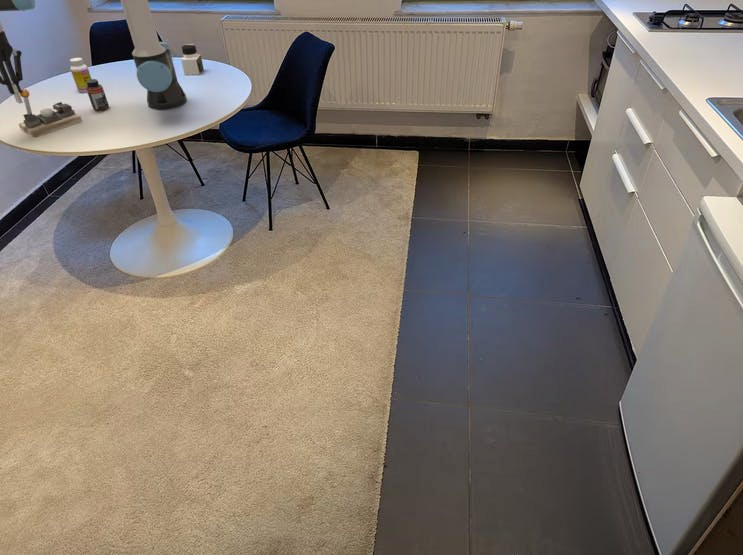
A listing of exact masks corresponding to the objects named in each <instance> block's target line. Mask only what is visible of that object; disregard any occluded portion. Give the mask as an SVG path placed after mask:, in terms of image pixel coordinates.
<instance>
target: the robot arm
mask: <svg viewBox="0 0 743 555" xmlns="http://www.w3.org/2000/svg"><path fill="white" fill-rule="evenodd" d="M120 2H121V6H122V11H123V14H124V17H125V20H126V23H127V27H128V30H129V32H130V36H131V40H132V43H133V46H134V49H133V51H132V52H131V55H132V57H133V61H134V64H135V68H136V77H137V80H138V82H139V85H140V86H141V87H143V88H144V89H146V90H147V91H146V103H147V105H148V108H150V109H152V110H159V111H162V110H163V111H164V110H172V109H175V108H179V107H181V106H183V105H185V104H186V103H187V101H188V99H187V95H186V93H185V91H184V90H183V87H182V86H181V84H180V83H179V81H178V78H177V73H176V70H175V69H176V68H175V64H174V60H173V56H172V53H171V48H170V45H169V43H167V42H166V41H165V42H164V41H160V39H159V37H158V32H157V30H156V26H155V21H154V18H153V14H152V11H151V7H150V4H149V0H120ZM35 8H36V0H0V12H10V11H11V12H13V11H14V12H16V11H17V12H18V11H24V12H25V11H28V10H33V9H35ZM3 29H4V27H3V24H2V21H0V74H1V75H0V85H3V86H6V87H7V90H8V93H9V94H11V95H13V96H14V100H15V102H16V103H18V104H20V105H21V104H24V100H23V99H22V97H21V95H20V92H21V90H22V89H21V87H20V82H21V81H23V80H24V78H23V70H22V61H21V60H22V59H21V57H22V51H21V50H19V49H16V48H14V47H12V45H11V44H10V43H9V39H8V38H7V35H6V32H5V31H4V30H3ZM12 55H13V64H14V67H13V64H12V60H11V57H12Z"/></svg>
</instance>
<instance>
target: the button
mask: <svg viewBox="0 0 743 555" xmlns="http://www.w3.org/2000/svg"><path fill="white" fill-rule="evenodd" d="M52 110H53V108H43V109H41V110H40V111H39V112H40V113H39V114H41V115H42V117H43V118H47V117H50V116H54V114H53V111H54V110H53V111H52Z"/></svg>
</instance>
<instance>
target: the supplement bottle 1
mask: <svg viewBox="0 0 743 555" xmlns="http://www.w3.org/2000/svg"><path fill="white" fill-rule="evenodd" d="M69 62H70V64H71V66H70V67H69V68H70V72H71V75H72V78H73V81H74V84H75V86H76V89H77V91H78V92H79V93H87V90H86V88H87V86H88V85H87V80H90V79H92V76H91V74H90V70H89V68H88V66H87V65H86V64H84V60H83V58H82V57H74V58H70V59H69Z"/></svg>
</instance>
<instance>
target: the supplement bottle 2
mask: <svg viewBox="0 0 743 555" xmlns="http://www.w3.org/2000/svg"><path fill="white" fill-rule="evenodd" d="M87 85H88V86H87V88H86V90H87V92H86V93H87V95H88V97H89V101H90V103H91V106H92V108H93V110H94V111H96V112H103V111H107V110H108V109H109V108H110V105H109V102H108V99H107V96H106V93H105V90H104V87H103V86H102V84H99V80H98V79H96V78H91V79H90V80H87Z"/></svg>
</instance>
